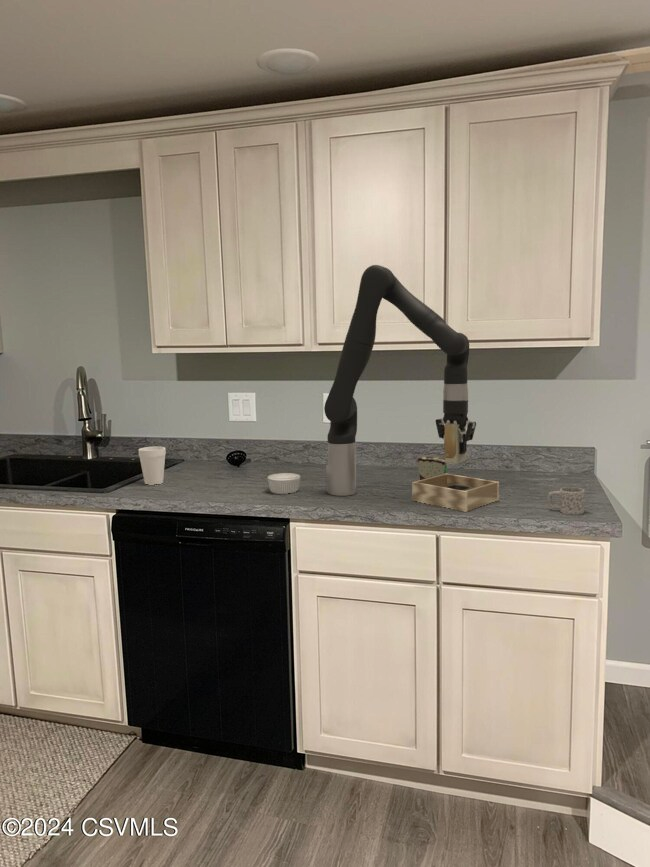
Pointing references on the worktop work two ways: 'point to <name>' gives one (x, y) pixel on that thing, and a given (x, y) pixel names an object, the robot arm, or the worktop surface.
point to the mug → (569, 500)
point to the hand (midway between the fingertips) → (455, 452)
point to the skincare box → (453, 444)
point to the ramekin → (284, 483)
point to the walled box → (455, 491)
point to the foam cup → (152, 464)
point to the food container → (431, 466)
